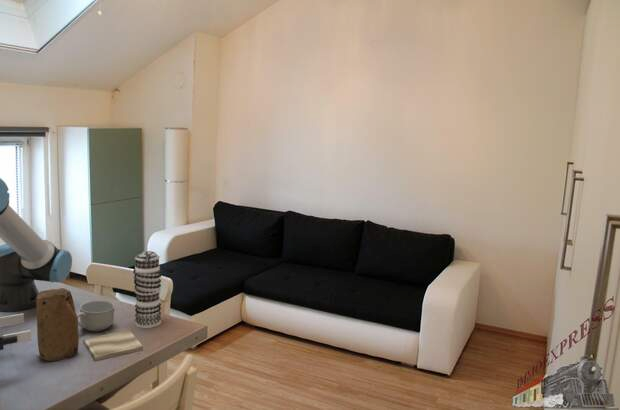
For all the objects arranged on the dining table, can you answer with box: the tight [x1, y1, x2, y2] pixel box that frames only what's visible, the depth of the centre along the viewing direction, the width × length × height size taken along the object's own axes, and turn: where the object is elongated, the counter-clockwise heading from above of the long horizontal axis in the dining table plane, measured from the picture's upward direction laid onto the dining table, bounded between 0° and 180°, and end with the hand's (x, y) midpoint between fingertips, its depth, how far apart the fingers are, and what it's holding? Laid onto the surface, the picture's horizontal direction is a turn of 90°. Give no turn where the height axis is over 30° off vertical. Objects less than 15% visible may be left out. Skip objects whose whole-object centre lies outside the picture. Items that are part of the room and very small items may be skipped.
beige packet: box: [83, 329, 144, 362], centre depth 161 cm, size 14×14×1 cm
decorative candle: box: [132, 250, 163, 329], centre depth 177 cm, size 9×9×25 cm
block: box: [35, 287, 80, 362], centre depth 153 cm, size 11×8×20 cm
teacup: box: [76, 299, 116, 332], centre depth 172 cm, size 14×11×8 cm
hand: (27, 326), depth 148 cm, fingers open, 13 cm apart
